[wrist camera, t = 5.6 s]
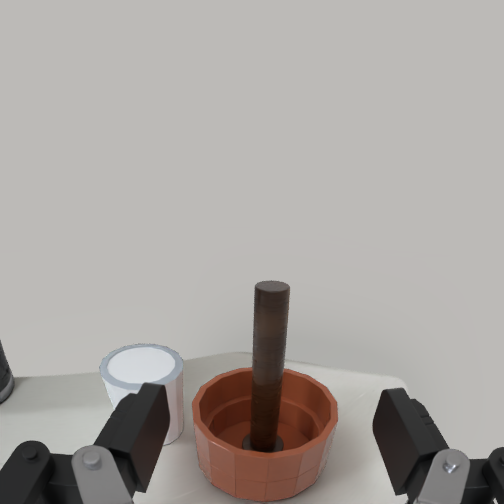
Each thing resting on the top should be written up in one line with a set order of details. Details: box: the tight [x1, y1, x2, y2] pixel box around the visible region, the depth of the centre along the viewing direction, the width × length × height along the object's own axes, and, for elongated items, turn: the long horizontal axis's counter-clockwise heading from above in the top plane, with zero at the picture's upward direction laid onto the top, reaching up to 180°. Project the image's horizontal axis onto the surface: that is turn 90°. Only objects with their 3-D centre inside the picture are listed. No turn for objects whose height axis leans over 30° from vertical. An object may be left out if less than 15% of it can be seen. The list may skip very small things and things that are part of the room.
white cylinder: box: [99, 344, 183, 445], centre depth 23 cm, size 7×7×7 cm
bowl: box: [192, 367, 338, 502], centre depth 20 cm, size 10×10×6 cm
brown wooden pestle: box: [242, 281, 290, 453], centre depth 19 cm, size 3×3×14 cm
